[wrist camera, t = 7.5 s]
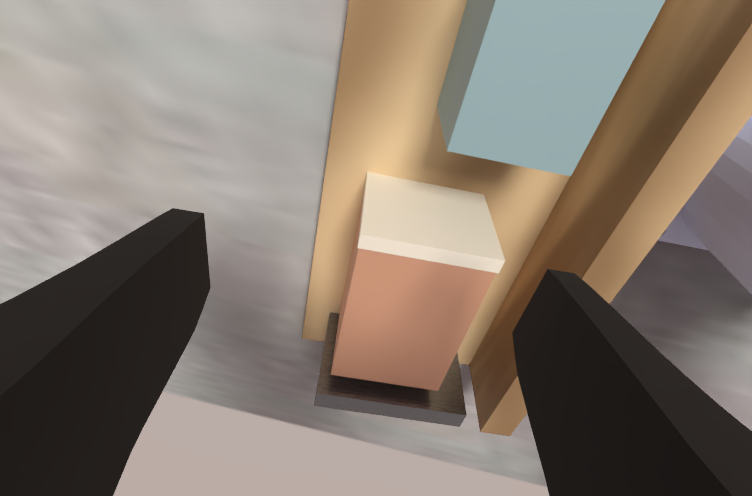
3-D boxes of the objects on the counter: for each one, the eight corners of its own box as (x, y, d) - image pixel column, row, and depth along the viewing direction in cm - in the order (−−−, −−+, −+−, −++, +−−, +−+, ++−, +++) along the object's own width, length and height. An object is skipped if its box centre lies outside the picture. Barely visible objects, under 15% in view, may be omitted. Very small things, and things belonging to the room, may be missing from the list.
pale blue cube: (604, -23, 13) (669, -6, 10) (537, 127, 16) (570, 176, 13) (482, -54, 13) (510, -46, 10) (436, 105, 16) (446, 151, 13)
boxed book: (483, 194, 18) (505, 260, 15) (432, 320, 23) (439, 393, 20) (367, 171, 18) (360, 234, 14) (339, 304, 23) (329, 376, 19)
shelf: (709, -16, 14) (831, 8, 10) (492, 357, 26) (509, 436, 22) (365, -104, 13) (352, -115, 9) (304, 327, 25) (287, 404, 21)
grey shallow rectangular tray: (454, 332, 24) (466, 415, 20) (441, 360, 25) (450, 442, 21) (330, 312, 23) (316, 393, 19) (324, 341, 25) (310, 422, 21)
